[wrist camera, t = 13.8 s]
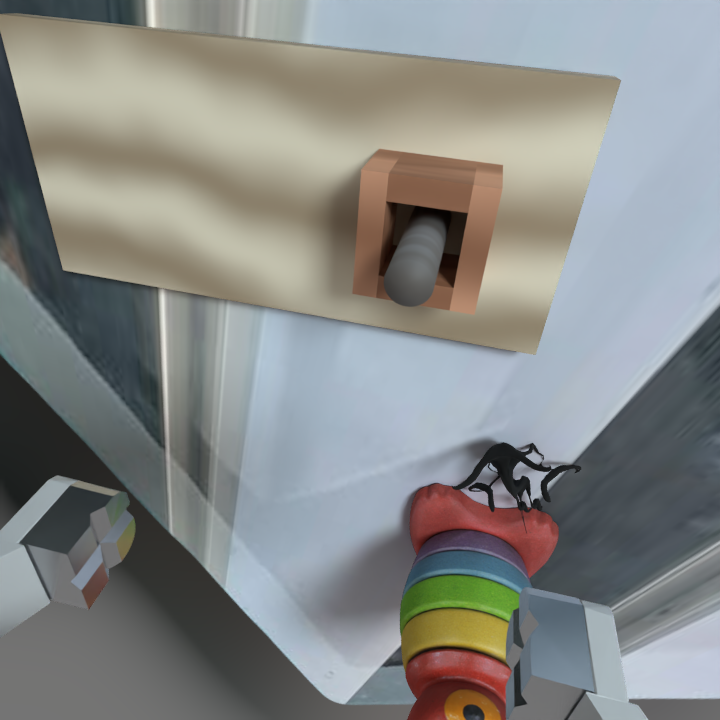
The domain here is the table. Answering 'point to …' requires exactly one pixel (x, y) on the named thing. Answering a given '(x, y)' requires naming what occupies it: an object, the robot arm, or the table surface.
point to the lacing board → (298, 167)
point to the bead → (435, 190)
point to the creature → (505, 462)
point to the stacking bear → (465, 600)
